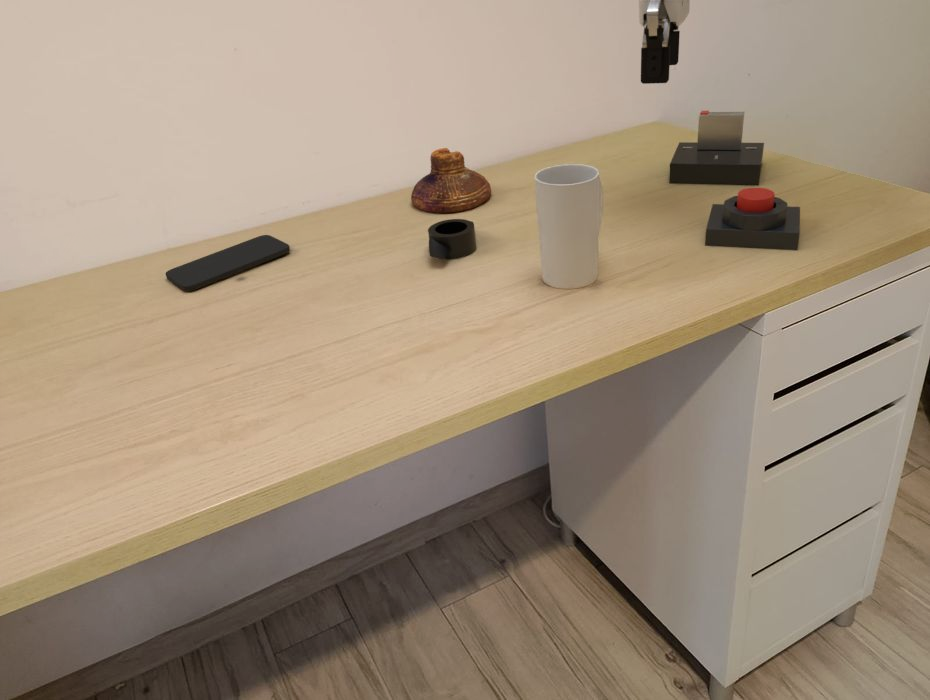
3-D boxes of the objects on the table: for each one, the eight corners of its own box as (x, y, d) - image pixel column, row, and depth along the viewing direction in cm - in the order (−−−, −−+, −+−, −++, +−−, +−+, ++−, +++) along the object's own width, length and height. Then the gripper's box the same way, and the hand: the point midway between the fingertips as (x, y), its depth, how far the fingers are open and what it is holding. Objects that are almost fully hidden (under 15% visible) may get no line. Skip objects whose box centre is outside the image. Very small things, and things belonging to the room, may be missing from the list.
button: (773, 202, 88) (775, 187, 87) (772, 214, 85) (774, 200, 84) (737, 201, 89) (739, 186, 88) (735, 213, 86) (736, 198, 85)
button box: (797, 223, 90) (802, 192, 88) (797, 250, 84) (801, 217, 82) (711, 220, 94) (713, 189, 92) (704, 246, 88) (707, 214, 86)
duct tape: (503, 245, 94) (501, 223, 93) (438, 271, 89) (435, 248, 88) (467, 229, 100) (464, 209, 98) (404, 253, 95) (401, 232, 93)
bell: (405, 194, 114) (398, 147, 111) (481, 181, 116) (477, 134, 112) (419, 220, 104) (412, 169, 101) (501, 205, 106) (497, 154, 102)
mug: (577, 296, 80) (574, 188, 74) (527, 282, 84) (521, 179, 78) (627, 261, 86) (628, 159, 80) (578, 250, 90) (576, 152, 84)
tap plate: (762, 158, 112) (764, 137, 110) (758, 186, 102) (761, 163, 101) (680, 157, 116) (681, 137, 114) (669, 183, 107) (669, 162, 105)
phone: (162, 272, 96) (266, 233, 103) (164, 278, 96) (267, 238, 104) (184, 288, 91) (292, 246, 98) (187, 294, 91) (294, 251, 99)
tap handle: (741, 146, 108) (744, 109, 105) (740, 150, 107) (743, 112, 104) (698, 146, 110) (700, 110, 107) (697, 149, 109) (699, 113, 106)
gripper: (692, -86, 75) (684, 89, 84) (706, -94, 89) (698, 57, 98) (617, -78, 78) (617, 91, 86) (642, -88, 91) (639, 60, 100)
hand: (660, 73), depth 92 cm, fingers open, 9 cm apart
